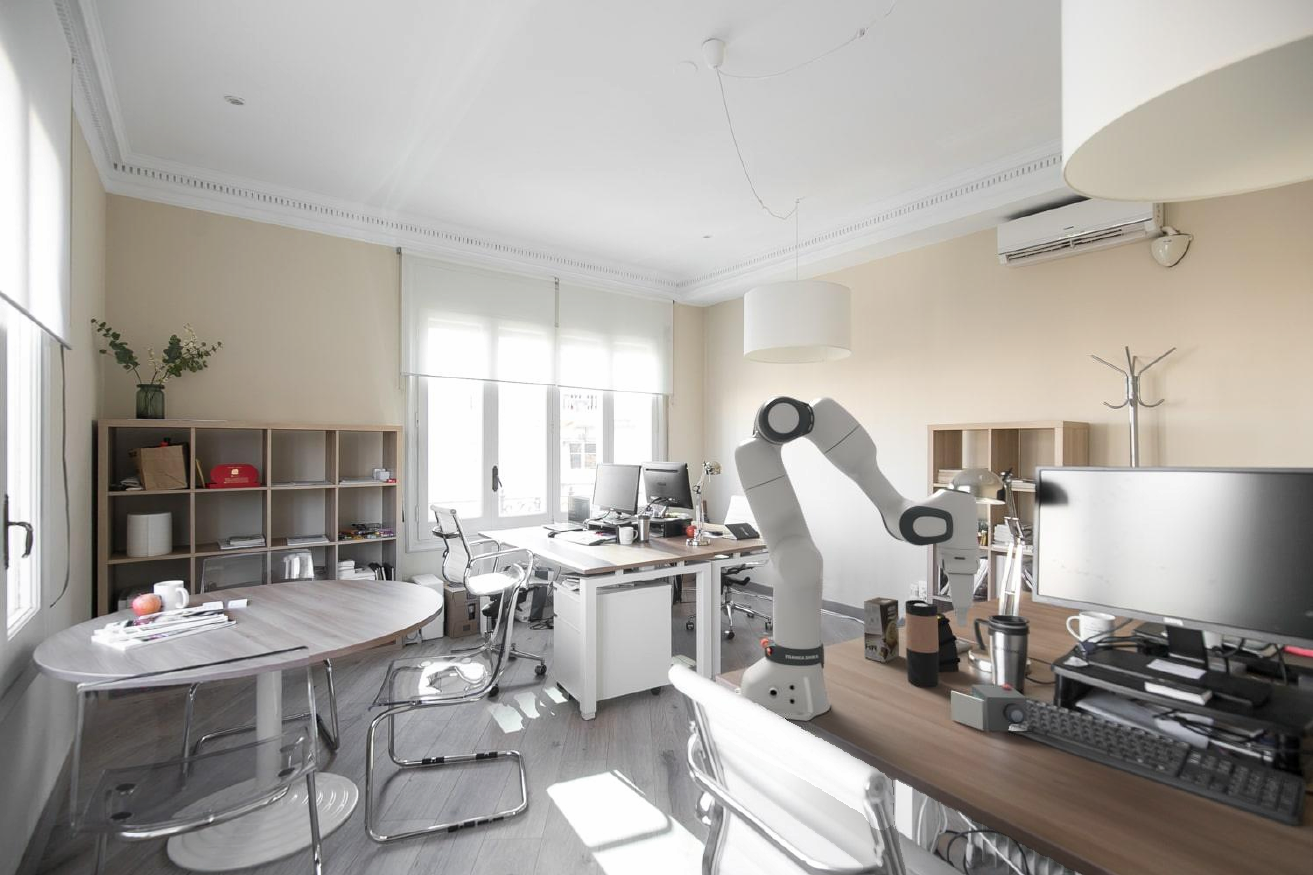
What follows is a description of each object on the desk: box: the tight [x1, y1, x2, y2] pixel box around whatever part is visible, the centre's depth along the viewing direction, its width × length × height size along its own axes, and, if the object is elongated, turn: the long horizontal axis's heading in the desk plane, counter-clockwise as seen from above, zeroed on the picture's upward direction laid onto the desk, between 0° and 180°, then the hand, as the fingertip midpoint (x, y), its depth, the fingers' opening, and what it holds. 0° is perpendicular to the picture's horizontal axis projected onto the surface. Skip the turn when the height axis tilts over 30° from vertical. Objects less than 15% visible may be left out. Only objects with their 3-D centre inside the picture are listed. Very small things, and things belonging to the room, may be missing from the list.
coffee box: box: [863, 596, 900, 663], centre depth 174 cm, size 9×6×16 cm
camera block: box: [971, 684, 1028, 733], centre depth 128 cm, size 8×9×8 cm
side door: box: [950, 690, 988, 732], centre depth 128 cm, size 1×7×6 cm, turn 37°
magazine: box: [937, 612, 961, 673], centre depth 162 cm, size 4×13×15 cm, turn 95°
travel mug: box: [905, 599, 940, 689], centre depth 154 cm, size 8×8×20 cm
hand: (960, 620), depth 137 cm, fingers open, 8 cm apart
